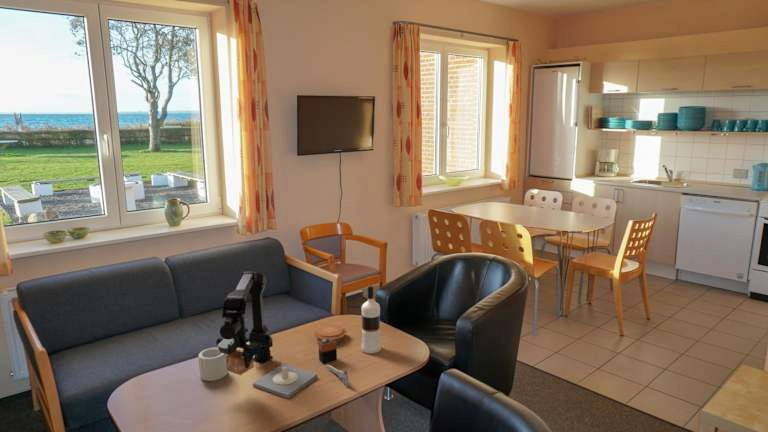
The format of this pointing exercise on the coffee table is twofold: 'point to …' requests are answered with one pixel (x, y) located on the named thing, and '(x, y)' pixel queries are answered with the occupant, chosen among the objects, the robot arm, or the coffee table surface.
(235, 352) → the collar
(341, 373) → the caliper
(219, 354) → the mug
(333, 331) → the pie
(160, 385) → the coffee table surface
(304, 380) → the post board
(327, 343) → the battery
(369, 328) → the vodka
